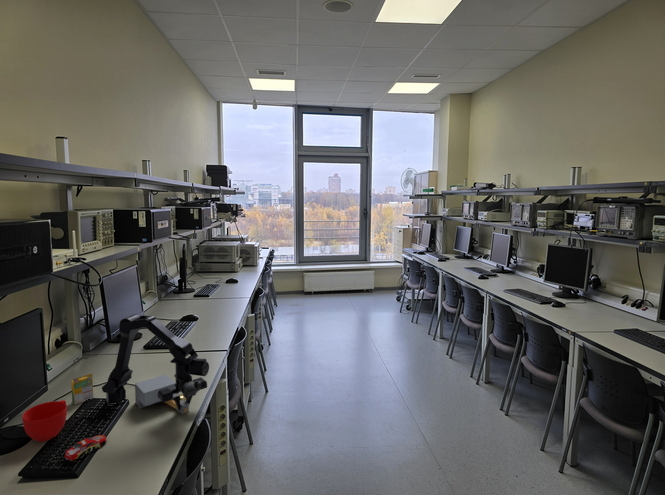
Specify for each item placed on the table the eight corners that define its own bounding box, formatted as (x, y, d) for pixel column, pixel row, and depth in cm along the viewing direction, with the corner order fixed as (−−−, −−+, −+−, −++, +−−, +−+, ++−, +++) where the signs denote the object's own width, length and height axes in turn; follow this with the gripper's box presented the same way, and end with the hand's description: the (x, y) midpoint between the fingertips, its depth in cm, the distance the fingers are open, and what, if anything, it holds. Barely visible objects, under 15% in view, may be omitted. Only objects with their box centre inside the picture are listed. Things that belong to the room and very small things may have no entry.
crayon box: (91, 396, 167) (90, 371, 166) (93, 398, 165) (92, 373, 164) (71, 402, 161) (70, 376, 160) (74, 405, 160) (73, 379, 158)
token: (178, 403, 165) (178, 400, 164) (171, 399, 168) (171, 397, 167) (188, 398, 169) (188, 396, 169) (182, 395, 172) (182, 392, 171)
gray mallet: (182, 414, 156) (183, 406, 156) (161, 401, 164) (161, 393, 164) (188, 411, 158) (189, 403, 158) (167, 398, 166) (167, 391, 166)
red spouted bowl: (82, 419, 149) (81, 396, 148) (52, 447, 133) (50, 421, 131) (48, 419, 149) (47, 395, 148) (14, 447, 132) (12, 420, 131)
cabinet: (144, 414, 155) (144, 393, 154) (135, 403, 163) (135, 383, 162) (176, 403, 164) (176, 383, 163) (166, 393, 172) (165, 374, 171)
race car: (100, 438, 139) (100, 428, 139) (110, 443, 137) (109, 432, 136) (62, 459, 127) (61, 448, 127) (71, 465, 125) (71, 453, 125)
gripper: (167, 387, 144) (168, 425, 146) (213, 373, 157) (213, 408, 159) (156, 376, 152) (157, 413, 153) (201, 364, 165) (201, 397, 167)
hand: (183, 408), depth 158 cm, fingers closed on gray mallet, 3 cm apart
